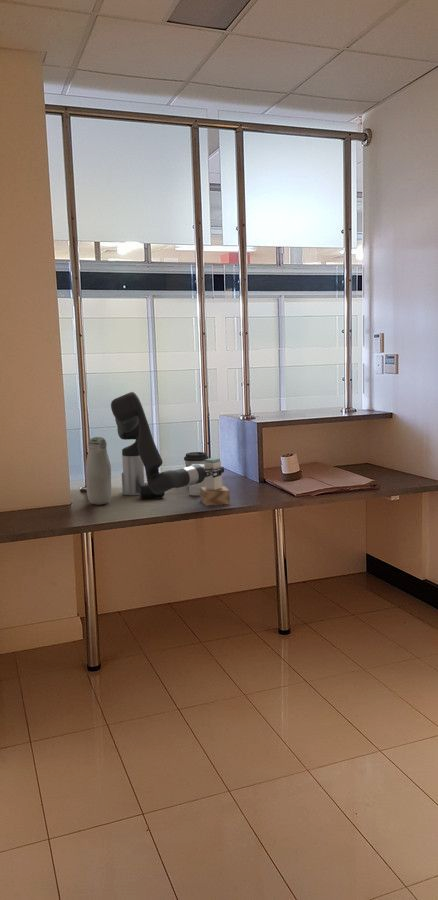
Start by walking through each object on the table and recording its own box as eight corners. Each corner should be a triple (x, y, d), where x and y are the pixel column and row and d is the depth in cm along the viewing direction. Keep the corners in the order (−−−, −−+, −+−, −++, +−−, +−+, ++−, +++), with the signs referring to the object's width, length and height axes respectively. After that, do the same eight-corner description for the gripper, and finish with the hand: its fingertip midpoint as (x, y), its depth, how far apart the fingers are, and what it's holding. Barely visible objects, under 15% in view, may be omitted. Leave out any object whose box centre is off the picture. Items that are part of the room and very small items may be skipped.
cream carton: (214, 490, 287) (213, 460, 285) (205, 489, 290) (204, 459, 288) (222, 487, 290) (220, 458, 288) (213, 486, 293) (211, 457, 291)
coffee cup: (213, 486, 322) (212, 454, 320) (189, 489, 318) (188, 456, 316) (204, 482, 332) (203, 450, 330) (181, 484, 328) (180, 452, 326)
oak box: (205, 506, 285) (205, 492, 284) (200, 501, 294) (200, 487, 293) (229, 504, 287) (229, 490, 286) (224, 499, 296) (223, 485, 295)
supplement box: (205, 495, 304) (204, 466, 302) (189, 495, 305) (188, 466, 303) (209, 492, 311) (208, 463, 309) (193, 491, 312) (192, 463, 310)
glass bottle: (84, 507, 289) (80, 438, 284) (92, 501, 299) (88, 435, 294) (108, 507, 287) (104, 438, 283) (115, 501, 297) (111, 435, 293)
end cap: (141, 501, 297) (140, 485, 296) (138, 497, 304) (138, 482, 303) (165, 499, 300) (164, 483, 299) (161, 495, 307) (161, 480, 306)
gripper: (204, 467, 273) (230, 461, 286) (176, 464, 282) (203, 458, 295) (205, 486, 274) (231, 479, 287) (177, 483, 283) (203, 476, 296)
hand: (217, 468), depth 291 cm, fingers open, 6 cm apart
